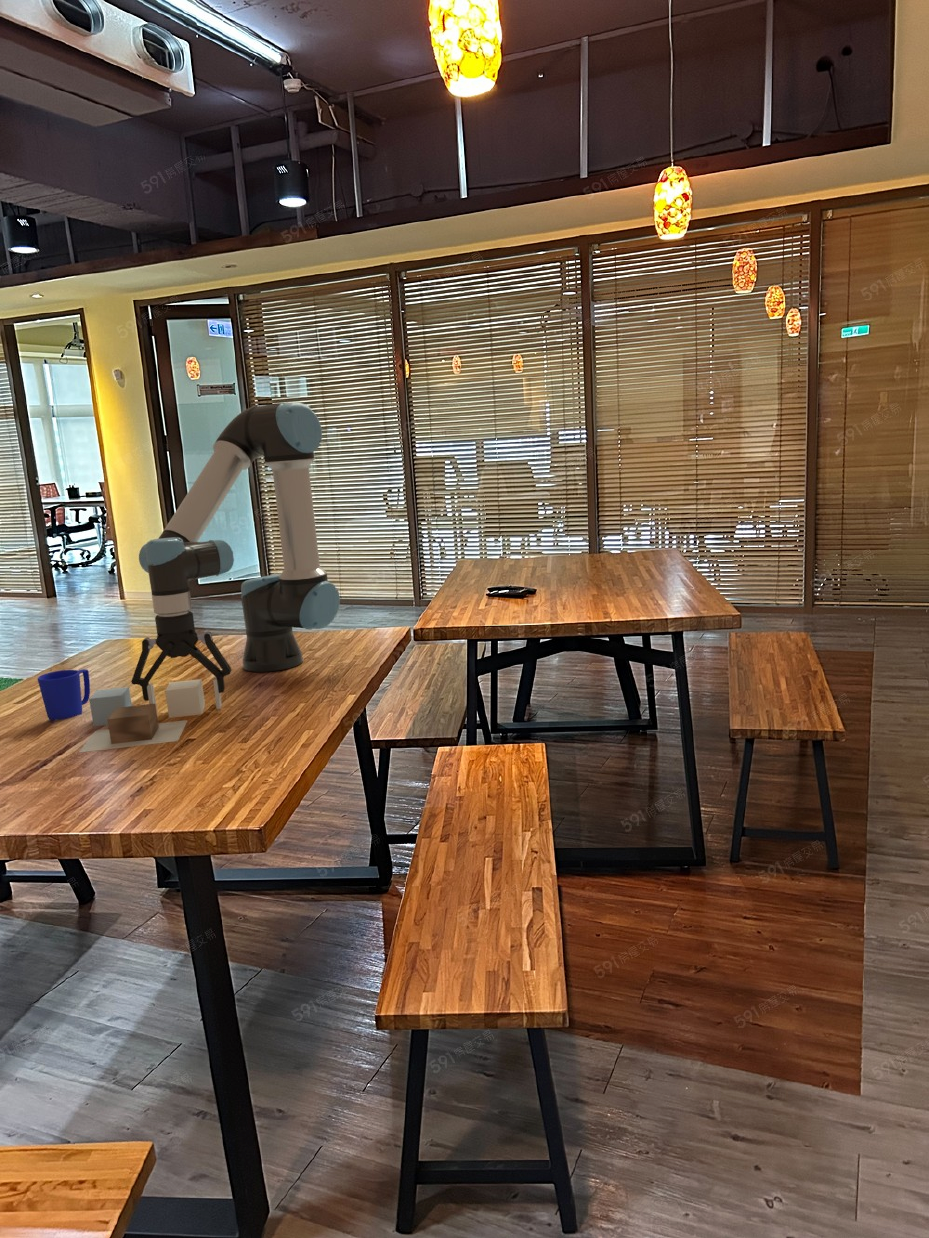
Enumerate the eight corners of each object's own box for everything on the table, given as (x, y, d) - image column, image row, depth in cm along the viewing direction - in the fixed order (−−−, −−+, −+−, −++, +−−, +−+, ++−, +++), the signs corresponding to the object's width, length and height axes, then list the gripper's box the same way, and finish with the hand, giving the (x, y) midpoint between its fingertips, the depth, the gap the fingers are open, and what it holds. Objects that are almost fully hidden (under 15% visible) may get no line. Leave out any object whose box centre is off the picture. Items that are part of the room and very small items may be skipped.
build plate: (188, 724, 176) (187, 720, 176) (178, 745, 163) (177, 740, 163) (96, 735, 173) (96, 730, 173) (79, 757, 160) (78, 752, 160)
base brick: (158, 727, 172) (155, 703, 171) (151, 739, 165) (148, 714, 164) (120, 731, 171) (116, 707, 170) (111, 744, 164) (107, 719, 163)
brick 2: (205, 710, 186) (201, 679, 184) (201, 719, 179) (197, 687, 178) (174, 713, 185) (170, 682, 183) (169, 722, 178) (165, 690, 177)
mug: (107, 708, 192) (100, 665, 190) (66, 725, 181) (58, 680, 179) (78, 706, 195) (71, 664, 193) (36, 724, 183) (28, 679, 181)
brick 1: (133, 718, 183) (129, 686, 182) (127, 727, 177) (122, 695, 176) (102, 721, 182) (97, 690, 181) (94, 731, 176) (89, 698, 175)
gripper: (236, 604, 183) (247, 699, 187) (115, 615, 179) (129, 712, 183) (233, 610, 176) (245, 709, 180) (106, 622, 172) (122, 722, 176)
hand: (186, 711), depth 182 cm, fingers open, 13 cm apart
